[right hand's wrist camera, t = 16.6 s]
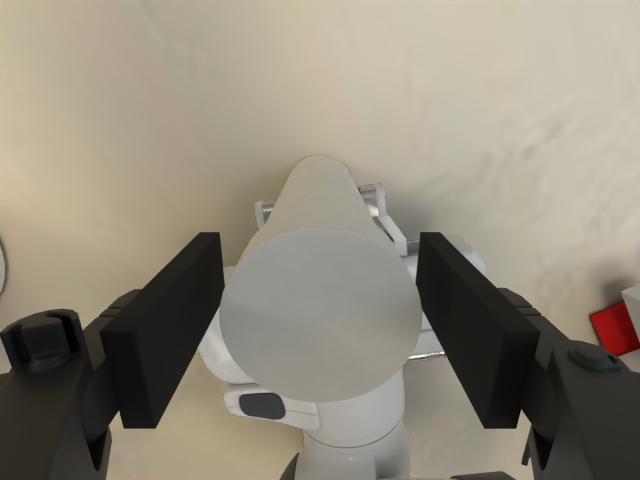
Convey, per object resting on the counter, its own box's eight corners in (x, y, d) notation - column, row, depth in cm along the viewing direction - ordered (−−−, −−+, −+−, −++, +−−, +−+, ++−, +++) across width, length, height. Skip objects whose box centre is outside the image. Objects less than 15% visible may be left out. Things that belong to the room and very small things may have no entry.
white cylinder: (324, 378, 14) (324, 432, 11) (204, 288, 12) (178, 328, 10) (437, 281, 12) (464, 320, 10) (316, 167, 11) (315, 181, 8)
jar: (274, 176, 28) (197, 283, 10) (331, 141, 27) (354, 192, 9) (309, 230, 29) (294, 402, 12) (364, 199, 28) (436, 335, 11)
